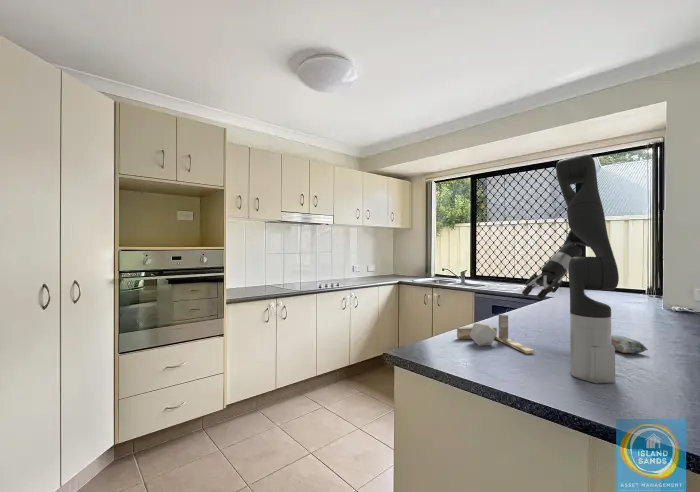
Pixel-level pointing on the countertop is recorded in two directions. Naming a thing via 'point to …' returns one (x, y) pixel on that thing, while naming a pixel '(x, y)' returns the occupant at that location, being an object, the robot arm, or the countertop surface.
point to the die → (483, 334)
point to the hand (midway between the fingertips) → (531, 296)
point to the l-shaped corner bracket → (503, 334)
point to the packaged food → (627, 345)
